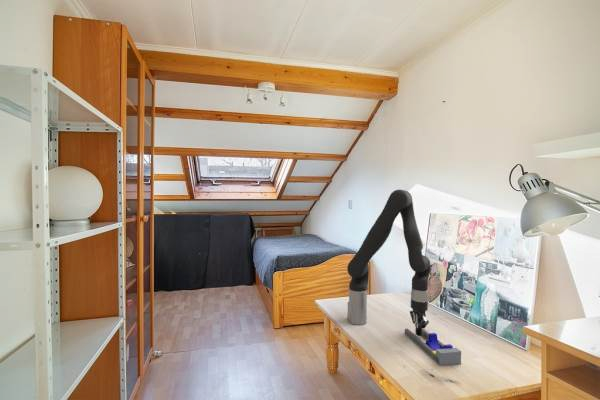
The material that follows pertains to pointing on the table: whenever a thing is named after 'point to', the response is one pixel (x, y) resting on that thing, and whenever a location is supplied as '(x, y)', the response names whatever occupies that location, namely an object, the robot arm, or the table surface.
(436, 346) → the blue u-shaped block
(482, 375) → the table surface
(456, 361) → the grey u-shaped bracket
